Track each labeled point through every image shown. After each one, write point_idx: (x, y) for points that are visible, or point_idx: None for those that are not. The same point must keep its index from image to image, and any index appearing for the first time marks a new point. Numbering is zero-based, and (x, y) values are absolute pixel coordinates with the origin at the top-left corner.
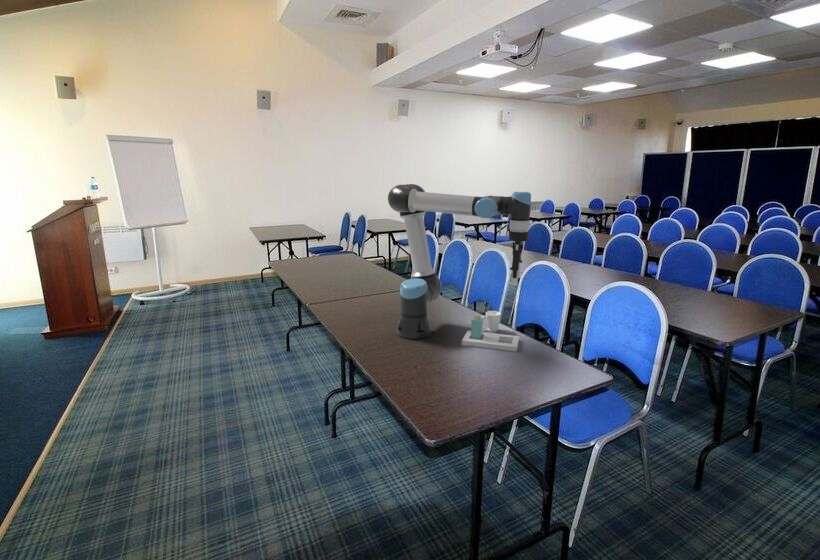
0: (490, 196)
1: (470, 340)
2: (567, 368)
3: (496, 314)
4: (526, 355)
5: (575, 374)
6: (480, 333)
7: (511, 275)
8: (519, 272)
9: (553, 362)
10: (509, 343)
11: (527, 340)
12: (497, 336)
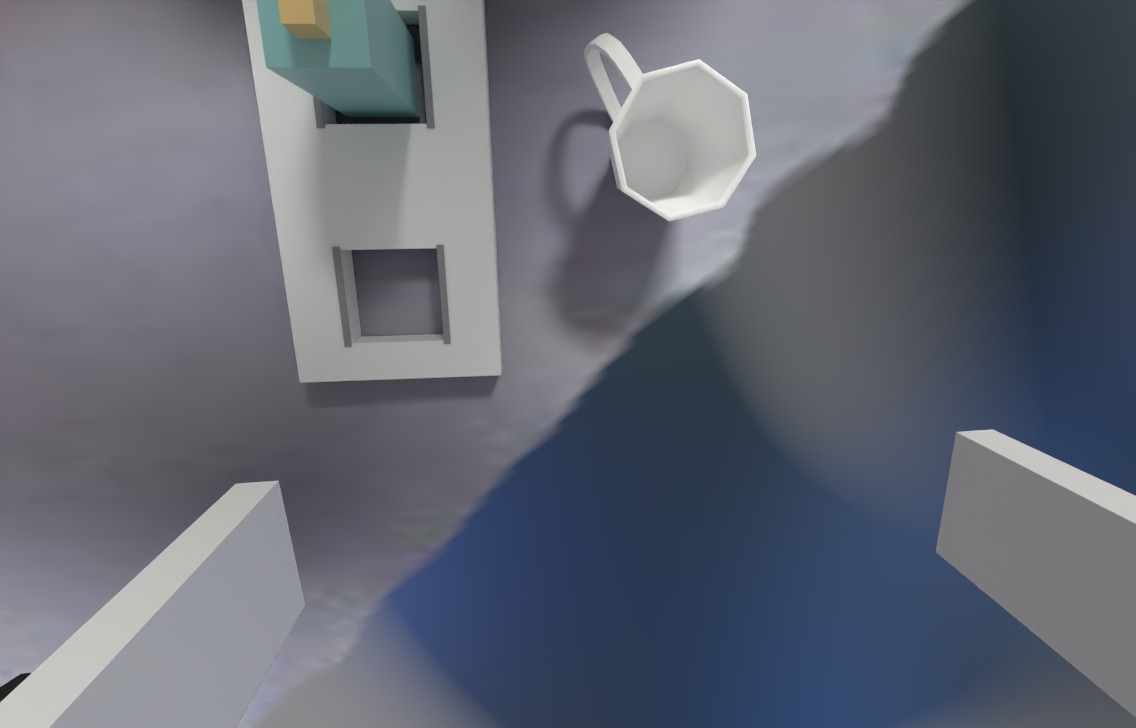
0: None
1: None
2: None
3: (725, 172)
4: (283, 432)
5: None
6: (320, 97)
7: (38, 680)
8: (1048, 644)
9: None
10: (339, 329)
11: (526, 413)
12: (438, 230)
